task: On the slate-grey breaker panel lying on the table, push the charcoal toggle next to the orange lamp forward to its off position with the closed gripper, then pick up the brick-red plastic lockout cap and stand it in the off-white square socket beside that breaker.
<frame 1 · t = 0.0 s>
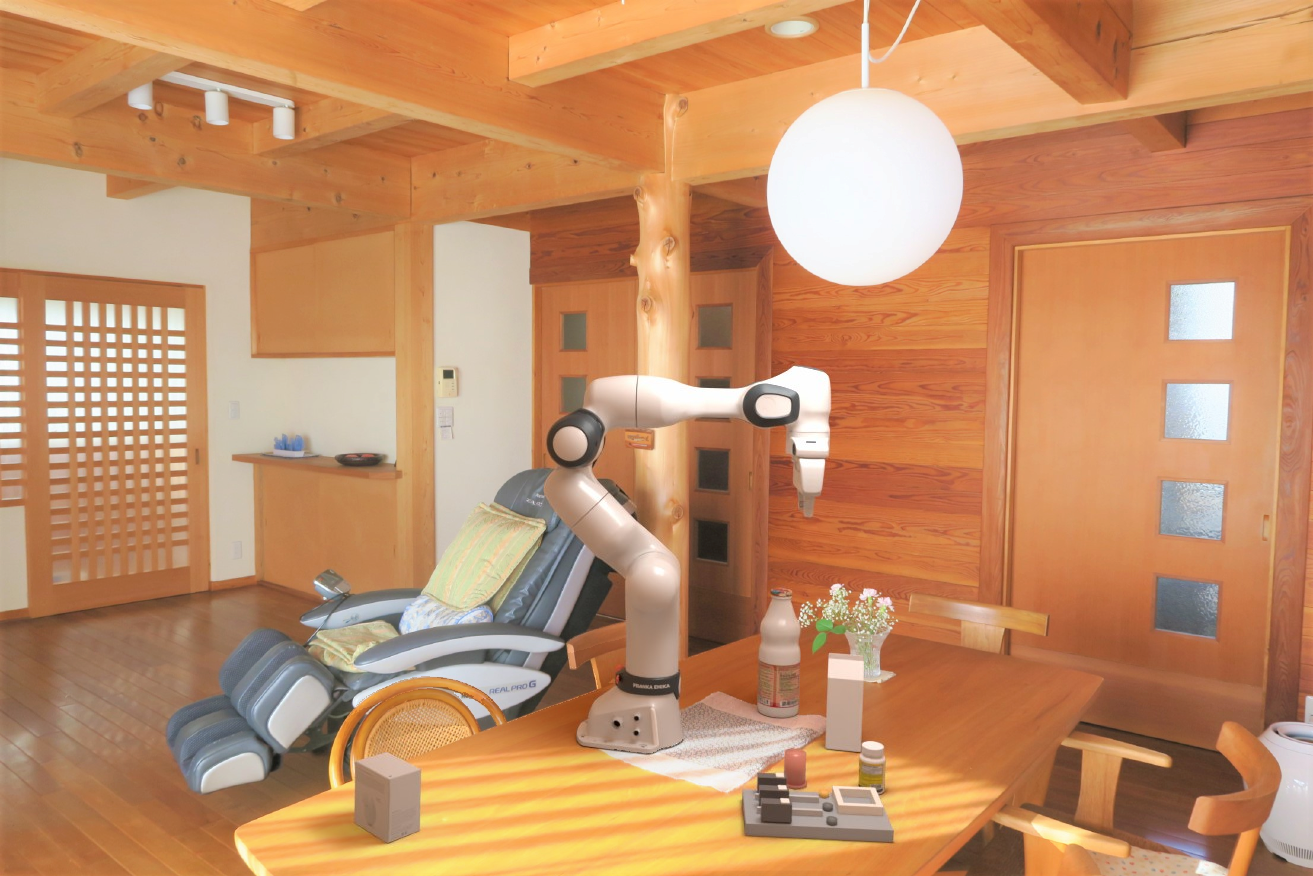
hand: (805, 513, 188), 48 cm above the table, tool pointing down, fingers open, 8 cm apart
milk carton: (842, 745, 190), on the table
breaker 3: (776, 809, 152), point 4 cm above the table, slide at 0.0 cm
fruit juice: (777, 712, 209), on the table
skincare box: (387, 827, 151), on the table
breaker 1: (771, 783, 162), point 4 cm above the table, slide at 0.0 cm
supplement bottle: (871, 791, 169), on the table
breaker 2: (773, 796, 157), point 4 cm above the table, slide at 0.0 cm
panel: (814, 820, 157), on the table
lockout cap: (794, 784, 171), on the table
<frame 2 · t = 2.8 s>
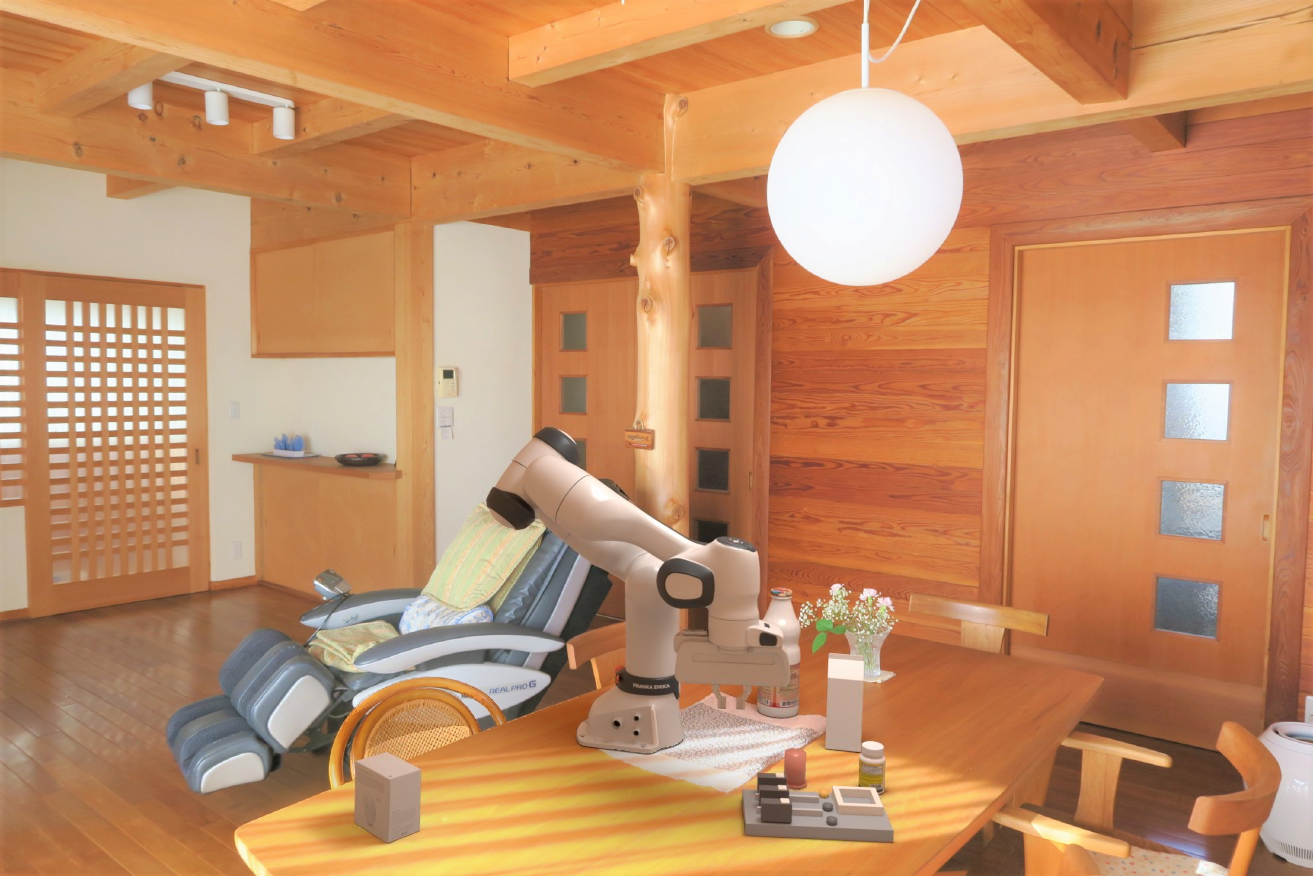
hand: (731, 708, 161), 17 cm above the table, tool pointing down, fingers closed
nothing on the table moved.
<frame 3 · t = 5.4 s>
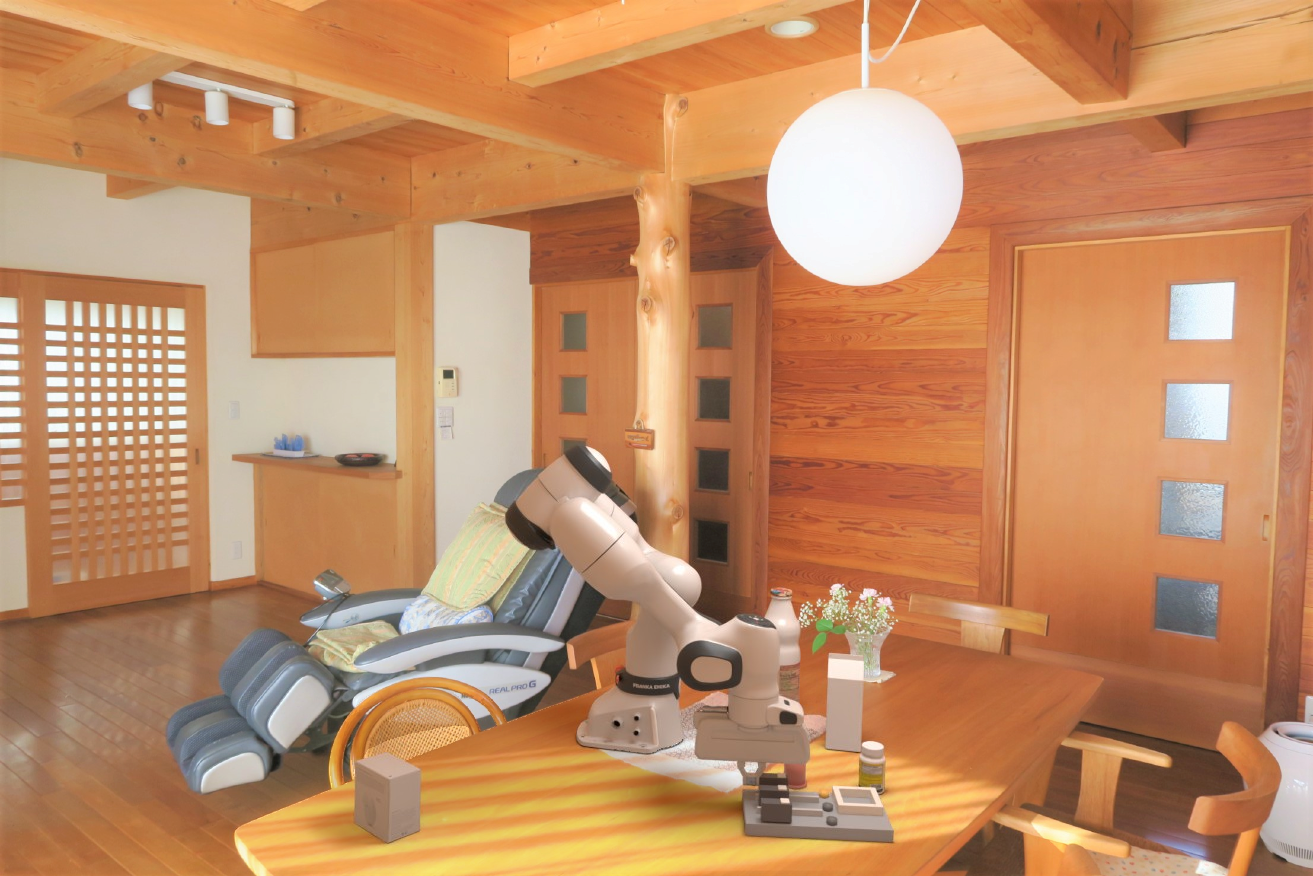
hand: (750, 784, 162), 4 cm above the table, tool pointing down, fingers closed
breaker 1: (773, 783, 162), point 4 cm above the table, slide at 0.3 cm, touching gripper
everything else where it was.
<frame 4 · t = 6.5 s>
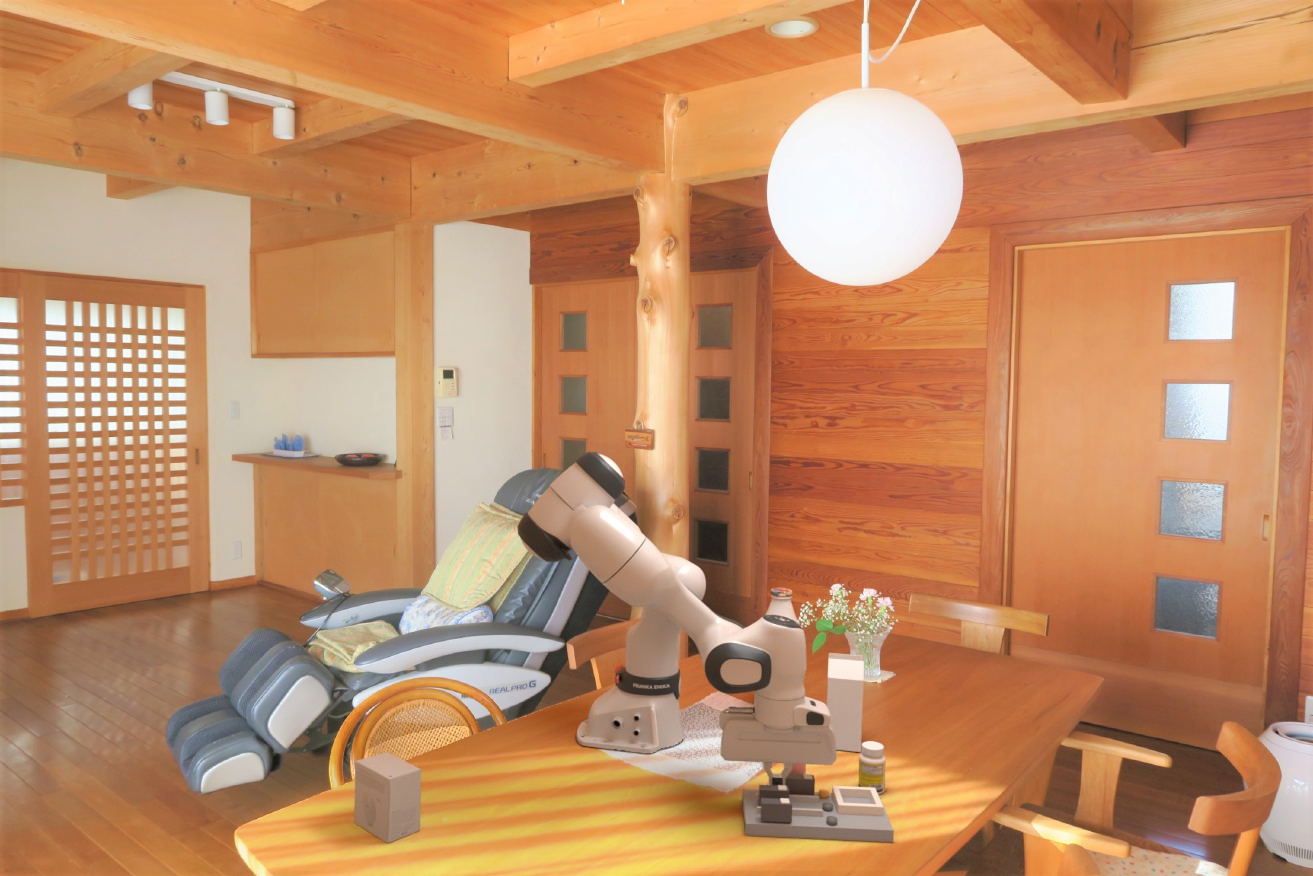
hand: (776, 785, 162), 4 cm above the table, tool pointing down, fingers closed
breaker 1: (799, 784, 162), point 4 cm above the table, slide at 4.9 cm, touching gripper
everything else where it was.
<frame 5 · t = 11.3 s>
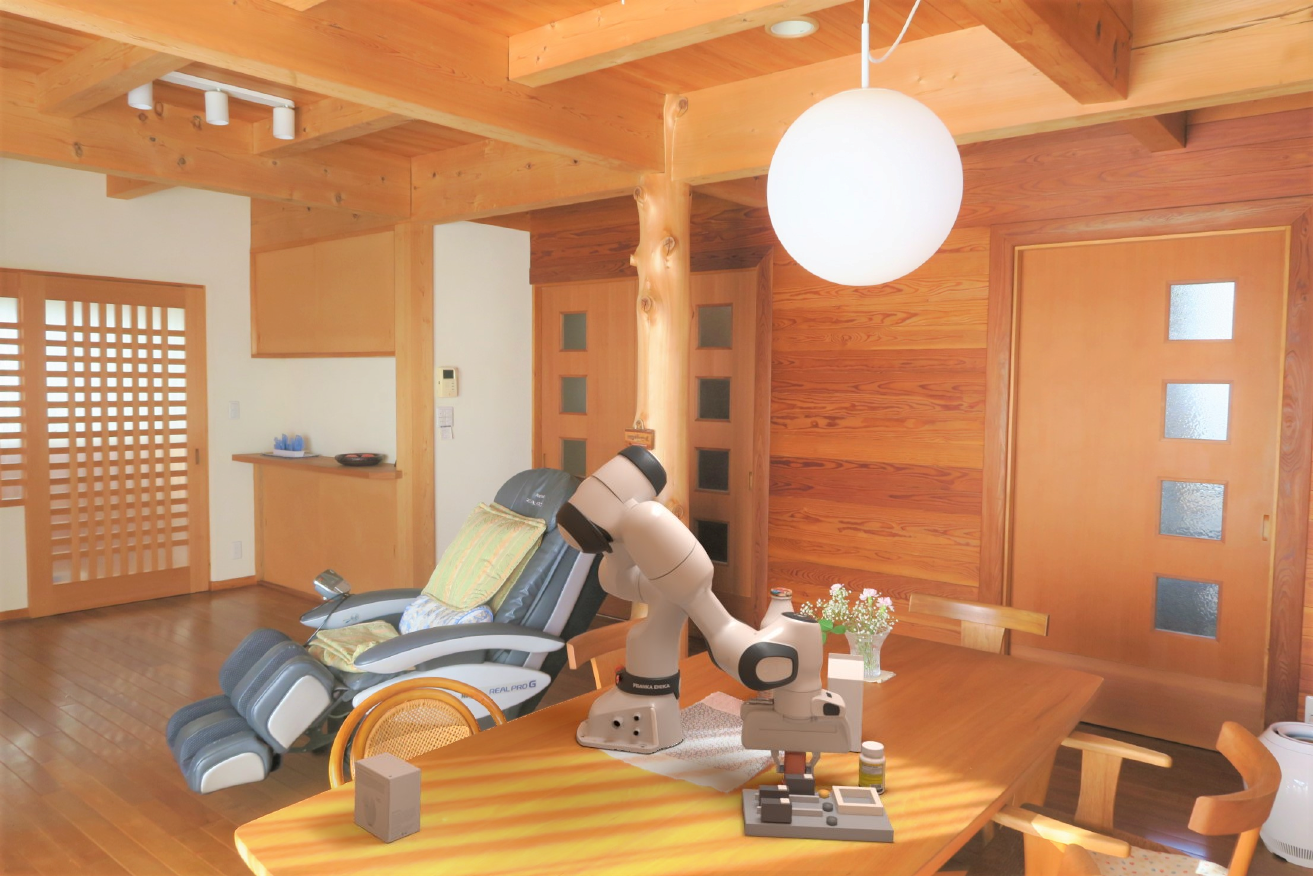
hand: (794, 773, 171), 2 cm above the table, tool pointing down, fingers closed on lockout cap, 4 cm apart
breaker 1: (799, 784, 162), point 4 cm above the table, slide at 5.0 cm
lockout cap: (794, 784, 171), on the table, touching gripper
everything else where it was.
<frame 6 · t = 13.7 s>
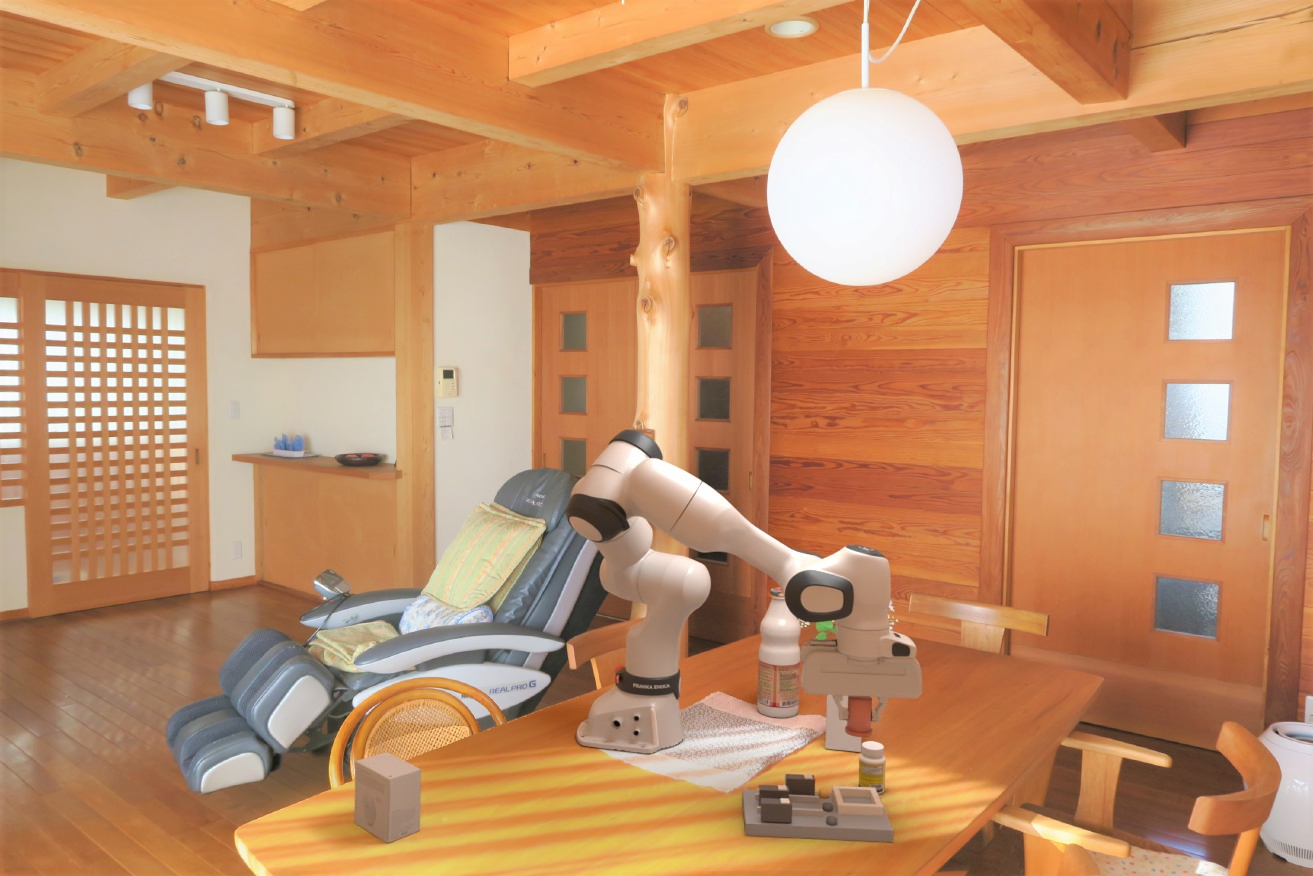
hand: (859, 720, 158), 17 cm above the table, tool pointing down, fingers closed on lockout cap, 4 cm apart
lockout cap: (858, 732, 158), point 15 cm above the table, touching gripper
everything else where it was.
when the fingers open (5 cm above the table, at t = 16.2 s): lockout cap stays where it is, resting on panel.
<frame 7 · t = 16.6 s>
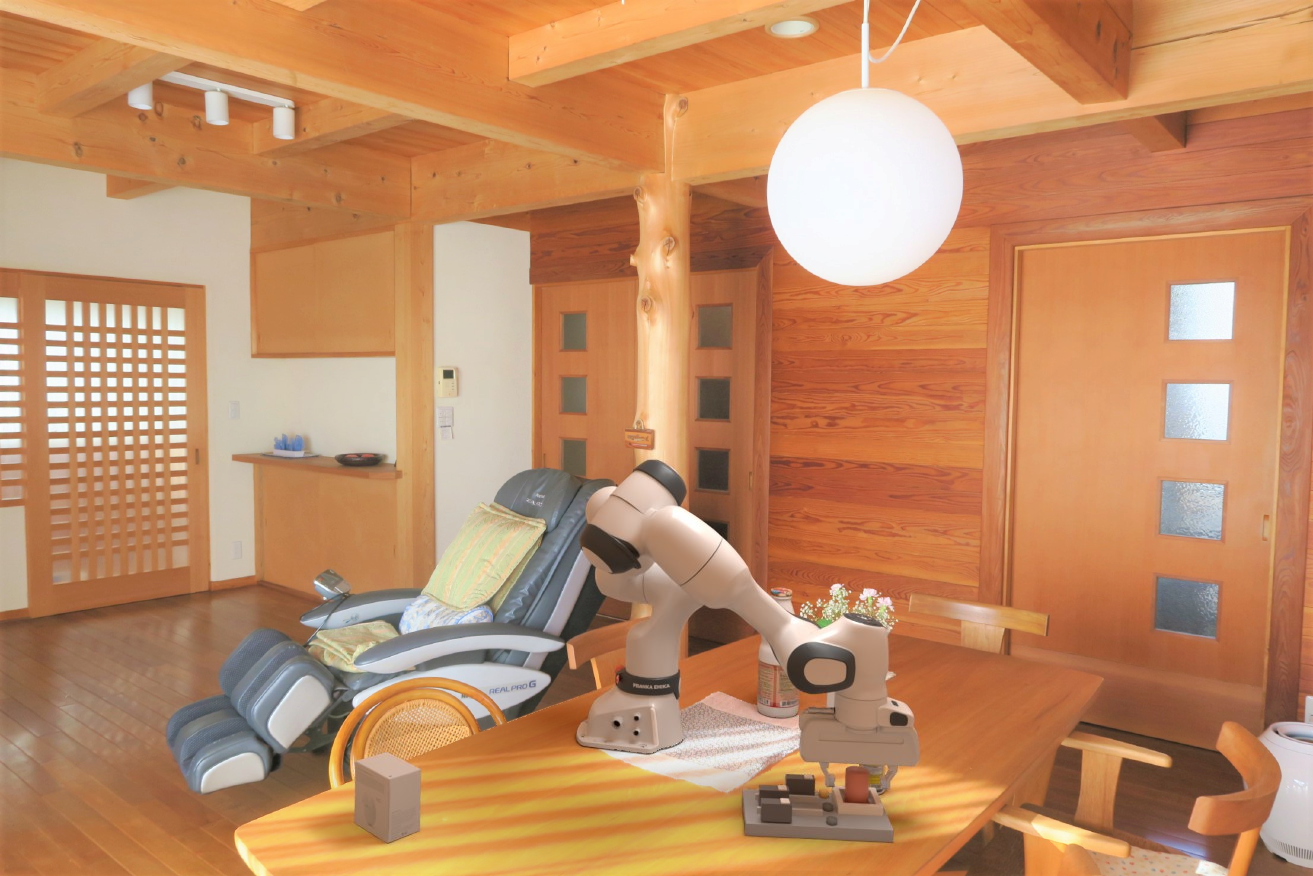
hand: (857, 787, 158), 5 cm above the table, tool pointing down, fingers open, 8 cm apart
lockout cap: (856, 804, 159), point 2 cm above the table, touching panel
everything else where it was.
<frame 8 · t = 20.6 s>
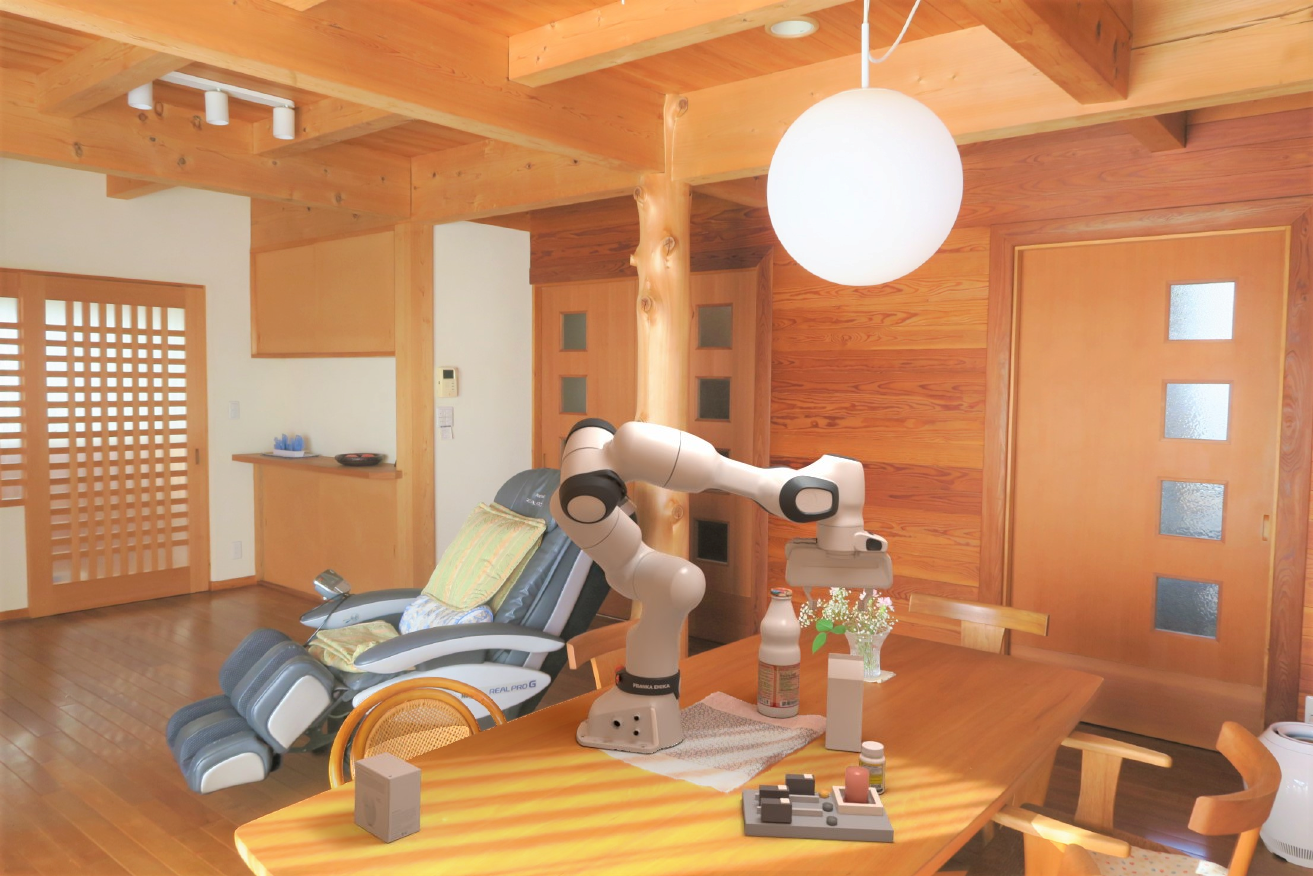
hand: (837, 610, 177), 31 cm above the table, tool pointing down, fingers open, 8 cm apart
nothing on the table moved.
at the end: breaker 1 slide at 5.0 cm; lockout cap inside the target area (0.1 cm from its centre), point 2.0 cm above the table; lockout cap tilted 0° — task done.
